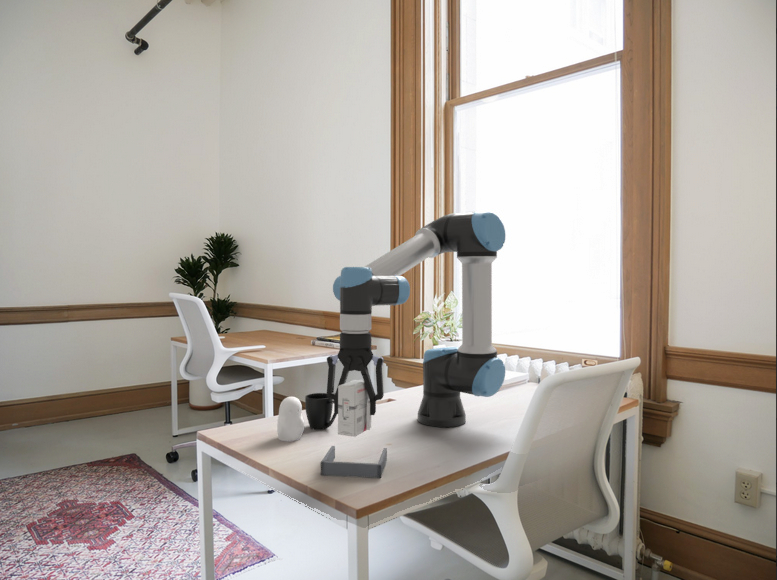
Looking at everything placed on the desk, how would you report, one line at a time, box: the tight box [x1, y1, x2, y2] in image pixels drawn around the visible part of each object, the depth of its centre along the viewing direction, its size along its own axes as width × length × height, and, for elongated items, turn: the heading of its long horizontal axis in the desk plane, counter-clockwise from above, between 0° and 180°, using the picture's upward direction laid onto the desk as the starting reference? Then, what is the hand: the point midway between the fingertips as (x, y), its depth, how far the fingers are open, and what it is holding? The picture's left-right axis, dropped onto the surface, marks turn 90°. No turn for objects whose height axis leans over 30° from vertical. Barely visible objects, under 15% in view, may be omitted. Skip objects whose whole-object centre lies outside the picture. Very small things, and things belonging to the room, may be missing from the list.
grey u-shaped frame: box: [320, 445, 388, 479], centre depth 132 cm, size 14×12×3 cm
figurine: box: [276, 396, 305, 442], centre depth 154 cm, size 7×8×12 cm
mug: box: [304, 392, 338, 431], centre depth 164 cm, size 8×12×10 cm
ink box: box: [337, 379, 370, 438], centre depth 131 cm, size 9×5×12 cm, turn 155°
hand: (354, 427), depth 132 cm, fingers closed on ink box, 6 cm apart
